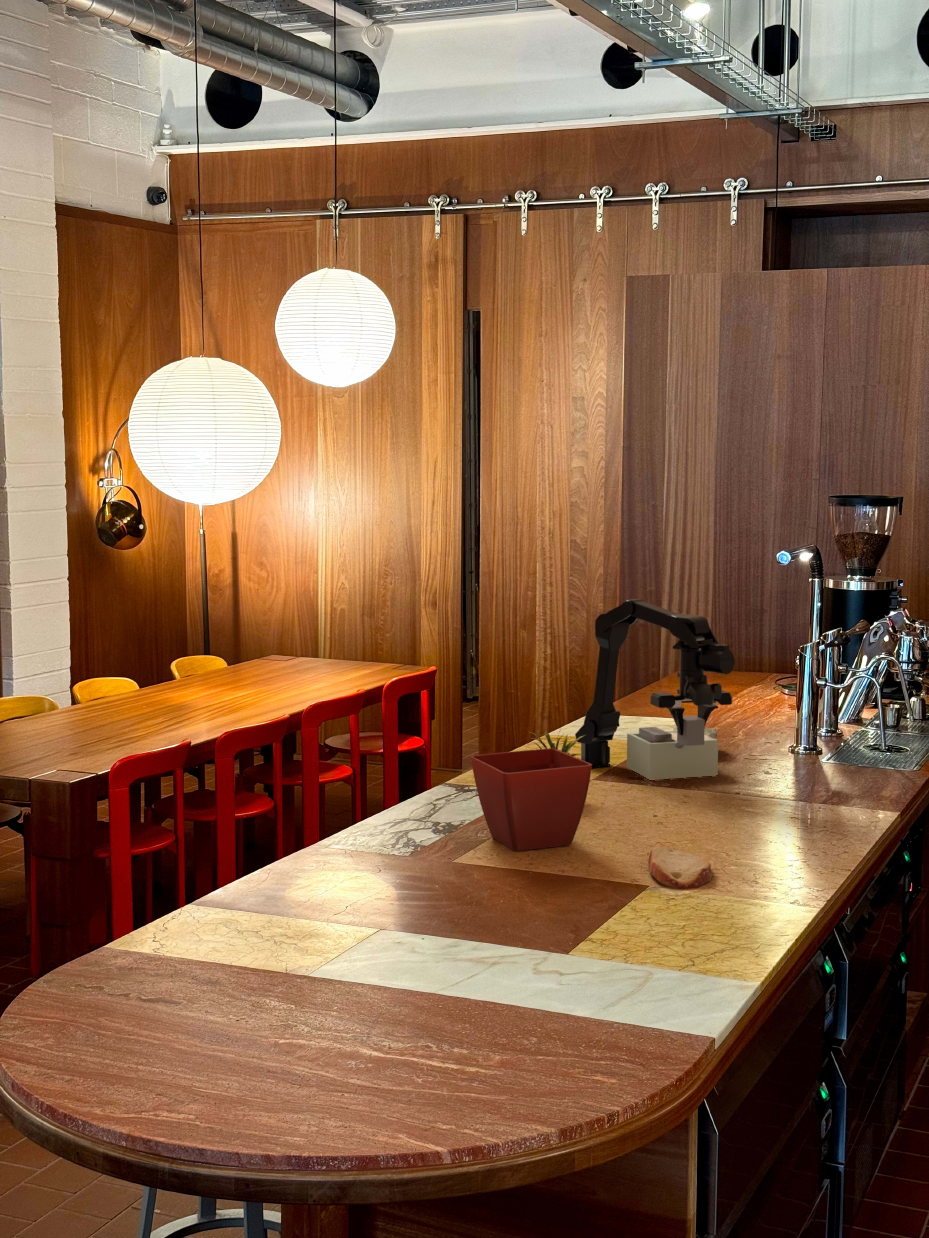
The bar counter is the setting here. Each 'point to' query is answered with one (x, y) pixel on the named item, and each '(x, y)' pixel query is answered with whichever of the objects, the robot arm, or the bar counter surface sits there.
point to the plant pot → (532, 796)
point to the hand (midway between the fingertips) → (690, 734)
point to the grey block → (692, 731)
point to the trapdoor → (659, 735)
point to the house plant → (552, 745)
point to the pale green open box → (671, 758)
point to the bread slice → (678, 868)
